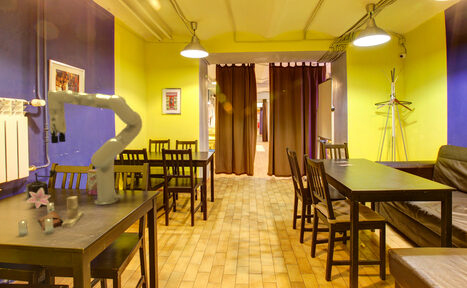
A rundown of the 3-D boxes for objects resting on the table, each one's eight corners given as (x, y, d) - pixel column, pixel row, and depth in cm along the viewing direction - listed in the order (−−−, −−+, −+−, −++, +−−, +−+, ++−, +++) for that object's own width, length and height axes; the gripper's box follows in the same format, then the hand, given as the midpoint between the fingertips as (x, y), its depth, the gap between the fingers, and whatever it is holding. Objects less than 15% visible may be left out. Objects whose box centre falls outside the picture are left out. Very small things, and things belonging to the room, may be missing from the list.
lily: (22, 212, 146) (27, 198, 144) (24, 199, 155) (29, 186, 153) (47, 214, 154) (53, 200, 152) (48, 201, 162) (53, 188, 160)
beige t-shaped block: (83, 215, 138) (82, 192, 137) (71, 227, 123) (70, 201, 121) (74, 216, 137) (73, 193, 136) (61, 228, 122) (60, 202, 121)
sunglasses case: (35, 220, 131) (43, 207, 133) (51, 223, 136) (58, 211, 137) (42, 230, 118) (50, 216, 120) (58, 234, 123) (66, 220, 125)
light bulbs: (76, 211, 143) (75, 200, 143) (51, 233, 115) (50, 220, 114) (49, 213, 140) (48, 202, 140) (17, 236, 112) (16, 223, 112)
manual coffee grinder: (28, 202, 162) (26, 172, 160) (26, 198, 170) (24, 170, 168) (58, 196, 172) (56, 169, 171) (55, 193, 180) (53, 167, 179)
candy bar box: (87, 195, 176) (86, 170, 175) (92, 193, 181) (91, 169, 180) (104, 195, 175) (102, 170, 174) (108, 193, 180) (106, 169, 179)
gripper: (57, 112, 144) (59, 143, 145) (70, 113, 160) (71, 141, 162) (42, 112, 142) (44, 143, 143) (56, 113, 159) (58, 141, 160)
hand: (58, 142), depth 153 cm, fingers open, 9 cm apart
